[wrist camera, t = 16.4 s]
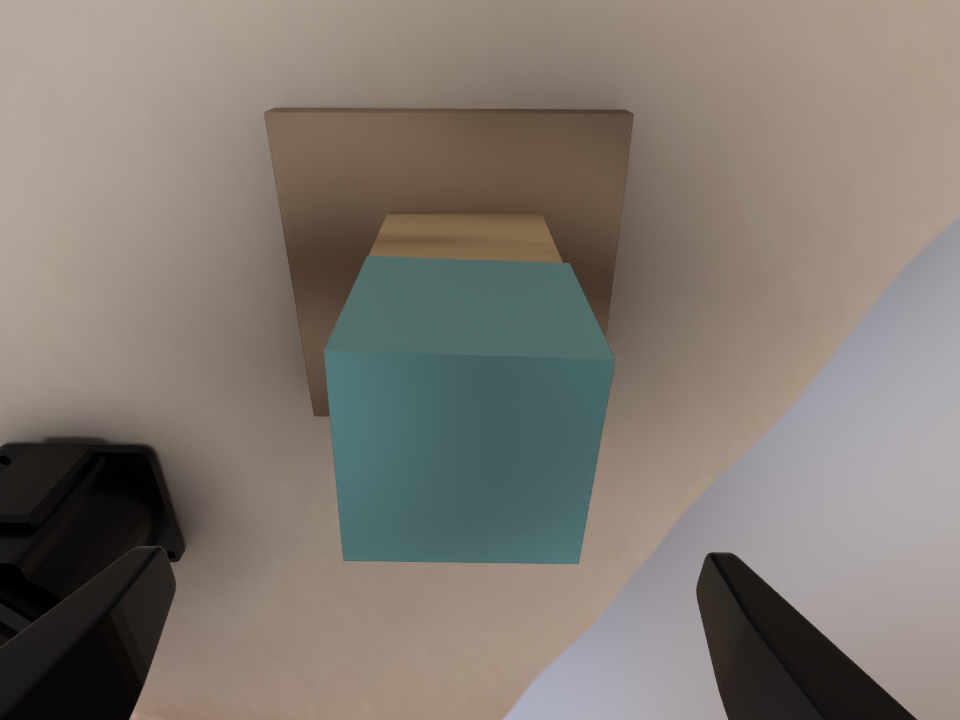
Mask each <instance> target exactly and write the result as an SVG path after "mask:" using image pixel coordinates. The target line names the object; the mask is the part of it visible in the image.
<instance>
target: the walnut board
mask: <svg viewBox="0 0 960 720" xmlns="http://www.w3.org/2000/svg"><path fill="white" fill-rule="evenodd" d="M264 115H265V121H266V127H267V133H268V139H269V146H270V152H271V158H272V164H273V170H274V176H275V182H276V188H277V194H278V200H279V206H280V212H281V218H282V224H283V230H284V236H285V243H286V249H287V255H288V261H289V267H290V273H291V279H292V285H293V291H294V297H295V303H296V309H297V315H298V321H299V327H300V333H301V340H302V346H303V352H304V358H305V364H306V370H307V376H308V382H309V388H310V394H311V400H312V406H313V412H314V416H330V412H329V401H328V390H327V379H326V368H325V358H324V349H325V347H326V345H327V343H328V341H329V338H330V336H331V334H332V332H333V330H334V327H335V325H336V323H337V321H338V319H339V316H340V314H341V312H342V310H343V308H344V305H345V303H346V301H347V299H348V297H349V294H350V292H351V290H352V288H353V286H354V283H355V281H356V279H357V277H358V275H359V272H360V270H361V268H362V266H363V264H364V261H365V259H366V257H367V256H369V254H370V251H371V249H372V247H373V245H374V242H375V240H376V238H377V236H378V233H379V231H380V229H381V227H382V224H383V222H384V220H385V217H386V215H387V214H542V215H543V218H544V220H545V222H546V225H547V227H548V229H549V232H550V234H551V236H552V239H553V241H554V243H555V246H556V248H557V250H558V253H559V255H560V257H561V260H562V262H563V263H570V265H571V267H572V269H573V272H574V274H575V276H576V278H577V280H578V282H579V284H580V286H581V288H582V291H583V293H584V295H585V297H586V299H587V301H588V303H589V305H590V307H591V310H592V312H593V314H594V316H595V318H596V320H597V322H598V324H599V326H600V329H601V331H602V333H603V335H604V337H606V329H607V321H608V313H609V305H610V297H611V289H612V282H613V274H614V266H615V258H616V250H617V242H618V234H619V226H620V219H621V211H622V203H623V195H624V187H625V179H626V171H627V163H628V156H629V148H630V140H631V132H632V124H633V116H634V114H632V113H630V112H629V111H627V110H555V109H367V108H274V109H271V110H269V111H266V112H264Z"/></svg>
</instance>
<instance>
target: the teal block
mask: <svg viewBox="0 0 960 720" xmlns="http://www.w3.org/2000/svg"><path fill="white" fill-rule="evenodd" d="M324 358H325V368H326V379H327V390H328V401H329V412H330V422H331V433H332V444H333V455H334V465H335V476H336V487H337V498H338V508H339V519H340V530H341V541H342V551H343V561H394V562H464V563H534V564H579V559H580V554H581V548H582V543H583V537H584V531H585V526H586V520H587V514H588V509H589V503H590V497H591V492H592V486H593V481H594V475H595V469H596V464H597V458H598V452H599V447H600V441H601V436H602V430H603V424H604V419H605V413H606V407H607V402H608V396H609V390H610V385H611V379H612V374H613V368H614V362H615V358H614V356H613V354H612V352H611V350H610V348H609V345H608V343H607V341H606V339H605V337H604V335H603V333H602V331H601V329H600V326H599V324H598V322H597V320H596V318H595V316H594V314H593V312H592V310H591V307H590V305H589V303H588V301H587V299H586V297H585V295H584V293H583V291H582V288H581V286H580V284H579V282H578V280H577V278H576V276H575V274H574V272H573V269H572V267H571V265H570V263H550V262H523V261H495V260H467V259H439V258H412V257H384V256H367V257H366V259H365V261H364V264H363V266H362V268H361V270H360V272H359V275H358V277H357V279H356V281H355V283H354V286H353V288H352V290H351V292H350V294H349V297H348V299H347V301H346V303H345V305H344V308H343V310H342V312H341V314H340V316H339V319H338V321H337V323H336V325H335V327H334V330H333V332H332V334H331V336H330V338H329V341H328V343H327V345H326V347H325V349H324Z"/></svg>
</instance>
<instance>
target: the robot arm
mask: <svg viewBox="0 0 960 720" xmlns="http://www.w3.org/2000/svg"><path fill="white" fill-rule="evenodd" d="M139 458H141V459H143V460H140V459H139ZM184 551H185V548H184V545H183V542H182V539H181V536H180V533H179V529H178V526H177V523H176V520H175V517H174V514H173V511H172V508H171V504H170V501H169V498H168V495H167V492H166V489H165V486H164V483H163V480H162V476H161V473H160V470H159V467H158V464H157V461H156V458H155V455H154V454H153V452H152V451H150V450H149V449H147V448H145V447H128V446H52V445H3V446H1V447H0V720H129V719H130V717H131V714H132V712H133V710H134V708H135V705H136V703H137V701H138V698H139V696H140V694H141V691H142V689H143V686H144V684H145V681H146V678H147V675H148V673H149V670H150V667H151V664H152V661H153V658H154V655H155V652H156V649H157V646H158V643H159V640H160V637H161V634H162V631H163V628H164V625H165V622H166V619H167V616H168V613H169V610H170V607H171V604H172V601H173V598H174V594H175V589H176V580H175V576H174V574H173V571H172V568H171V565H170V562H177V561H179V560H180V559H181V557H182V555H183V553H184ZM696 591H697V593H696V594H697V601H698V605H699V609H700V614H701V618H702V622H703V627H704V630H705V635H706V639H707V644H708V648H709V652H710V656H711V660H712V665H713V669H714V674H715V677H716V682H717V685H718V689H719V693H720V696H721V699H722V702H723V705H724V708H725V711H726V714H727V717H728V720H917V719H916V718H915V717H914V716H913V715H912V714H910V713H909V712H908V711H907V710H906V709H905V708H904V707H903V706H901V704H899V703H898V702H897V701H896V700H895V699H894V698H893V697H892V696H890V695H889V694H888V693H887V692H886V691H885V690H884V689H883V688H882V687H880V685H879V684H877V683H876V682H875V681H874V680H873V679H872V678H871V677H870V676H869V675H867V674H866V673H865V672H864V671H863V670H862V669H861V668H860V667H859V666H858V665H856V664H855V663H854V662H853V661H852V660H851V659H850V658H849V657H848V656H846V655H845V654H844V653H843V652H842V651H841V650H840V649H839V648H838V647H837V646H836V645H834V644H833V643H832V642H831V641H830V640H829V639H828V638H827V637H826V636H825V635H823V634H822V633H821V632H820V631H819V630H818V629H817V628H816V627H814V626H813V625H812V624H811V623H810V622H809V621H808V620H807V619H806V618H805V617H804V616H802V615H801V614H800V613H799V612H798V611H797V610H796V609H795V608H794V607H793V606H791V605H790V604H789V603H788V602H787V601H786V600H785V599H784V598H782V596H780V595H779V594H778V593H777V592H776V591H775V590H773V588H772V587H771V586H769V585H768V584H767V583H766V582H765V581H764V580H763V579H762V578H761V577H759V576H758V575H757V574H756V573H755V572H754V571H753V570H752V569H751V568H750V567H748V566H747V565H746V564H745V563H744V562H743V561H742V560H741V559H740V558H739V557H737V556H736V555H734V554H732V553H721V552H712V553H709V554H707V556H706V557H705V560H704V563H703V566H702V570H701V573H700V576H699V579H698V583H697V589H696Z"/></svg>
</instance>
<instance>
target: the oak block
mask: <svg viewBox="0 0 960 720" xmlns="http://www.w3.org/2000/svg"><path fill="white" fill-rule="evenodd" d="M369 256H384V257H412V258H439V259H467V260H495V261H523V262H550V263H563V262H562V260H561V257H560V255H559V253H558V250H557V248H556V246H555V243H554V241H553V239H552V236H551V234H550V232H549V229H548V227H547V225H546V222H545V220H544V218H543V215H542V214H387V215H386V217H385V220H384V222H383V224H382V227H381V229H380V231H379V233H378V236H377V238H376V240H375V242H374V245H373V247H372V249H371V251H370V254H369Z"/></svg>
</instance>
